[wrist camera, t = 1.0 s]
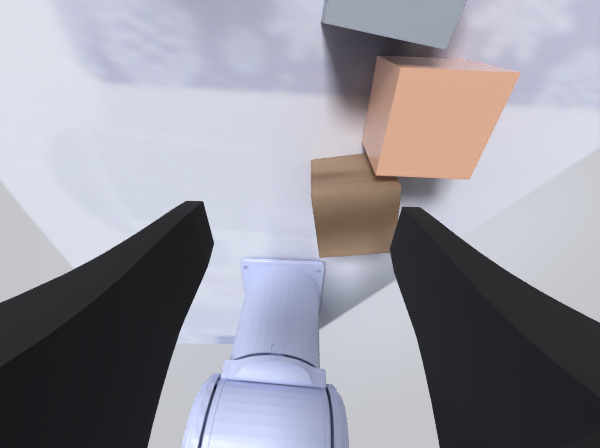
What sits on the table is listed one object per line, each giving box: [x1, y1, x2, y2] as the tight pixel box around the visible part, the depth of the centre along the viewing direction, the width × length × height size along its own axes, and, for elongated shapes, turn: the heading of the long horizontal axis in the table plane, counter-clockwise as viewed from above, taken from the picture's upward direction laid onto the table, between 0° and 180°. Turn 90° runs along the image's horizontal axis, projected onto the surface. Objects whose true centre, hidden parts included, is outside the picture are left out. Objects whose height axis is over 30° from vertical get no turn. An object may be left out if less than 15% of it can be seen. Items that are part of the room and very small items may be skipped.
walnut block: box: [311, 153, 401, 258], centre depth 18 cm, size 5×5×5 cm
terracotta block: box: [362, 55, 521, 179], centre depth 14 cm, size 5×5×5 cm
